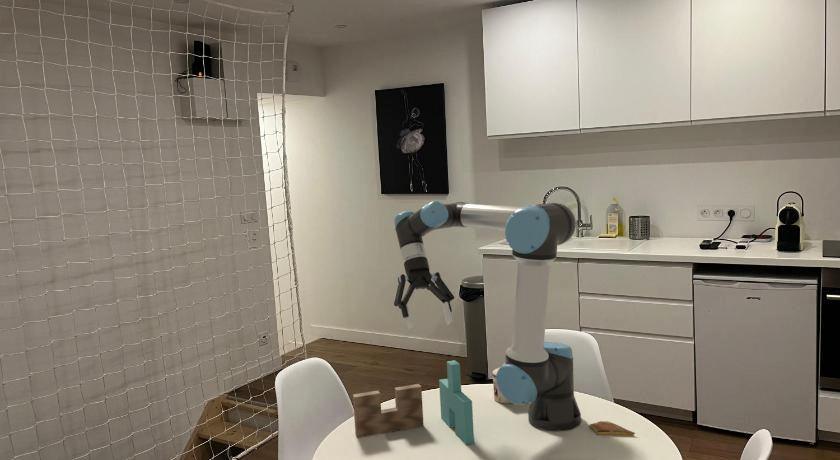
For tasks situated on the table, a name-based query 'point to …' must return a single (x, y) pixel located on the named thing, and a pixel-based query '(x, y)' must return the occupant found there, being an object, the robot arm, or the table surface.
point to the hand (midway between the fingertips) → (430, 325)
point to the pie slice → (610, 429)
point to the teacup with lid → (497, 394)
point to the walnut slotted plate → (388, 411)
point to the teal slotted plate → (456, 404)
